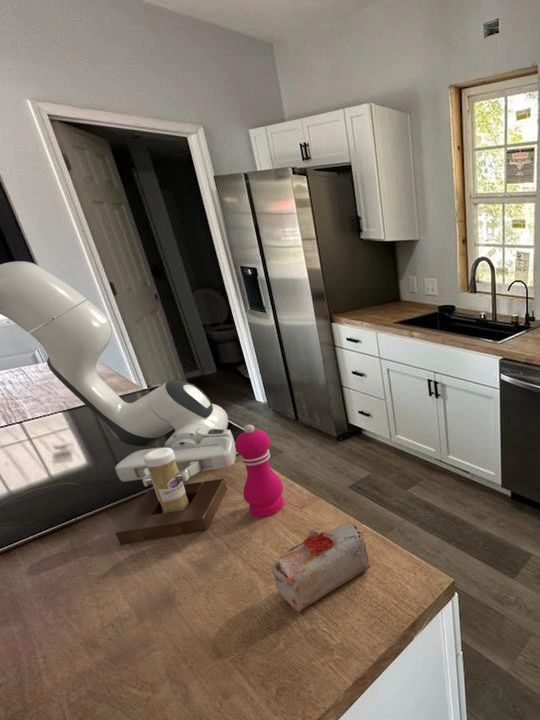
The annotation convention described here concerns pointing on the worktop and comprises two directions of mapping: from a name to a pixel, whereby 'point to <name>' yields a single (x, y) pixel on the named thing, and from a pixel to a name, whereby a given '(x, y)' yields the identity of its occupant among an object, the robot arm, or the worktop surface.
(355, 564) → the food item
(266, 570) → the worktop surface
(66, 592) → the worktop surface
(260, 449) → the pepper mill
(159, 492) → the sprinkles bottle
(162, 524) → the socket block
